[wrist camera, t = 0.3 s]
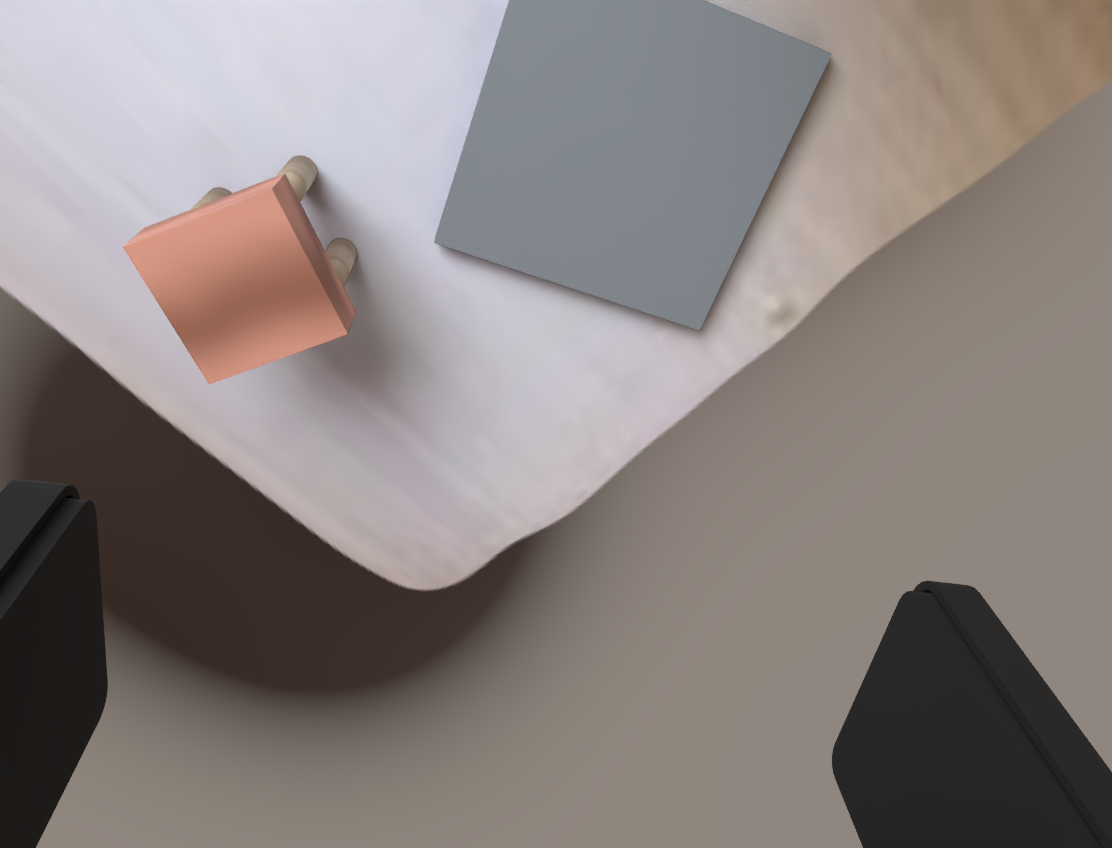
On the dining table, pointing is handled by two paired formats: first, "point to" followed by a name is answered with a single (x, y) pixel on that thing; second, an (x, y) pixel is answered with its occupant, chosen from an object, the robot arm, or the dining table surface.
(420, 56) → the dining table surface
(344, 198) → the dining table surface
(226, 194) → the stool
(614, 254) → the slate mat
